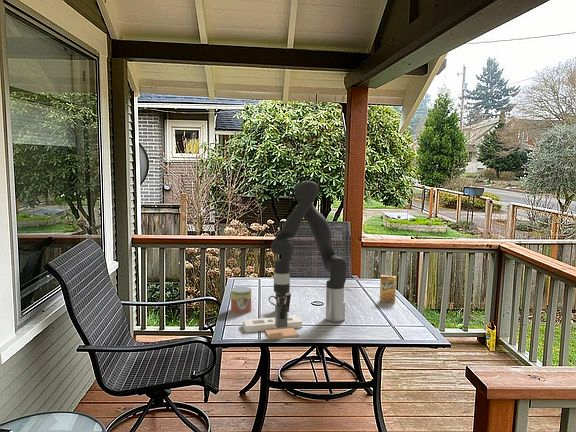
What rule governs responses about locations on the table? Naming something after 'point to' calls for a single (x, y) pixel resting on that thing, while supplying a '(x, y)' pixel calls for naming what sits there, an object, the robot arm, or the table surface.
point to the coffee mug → (287, 299)
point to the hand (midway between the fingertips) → (281, 317)
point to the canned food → (241, 300)
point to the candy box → (387, 288)
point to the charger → (279, 322)
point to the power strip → (269, 324)
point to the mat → (281, 333)
